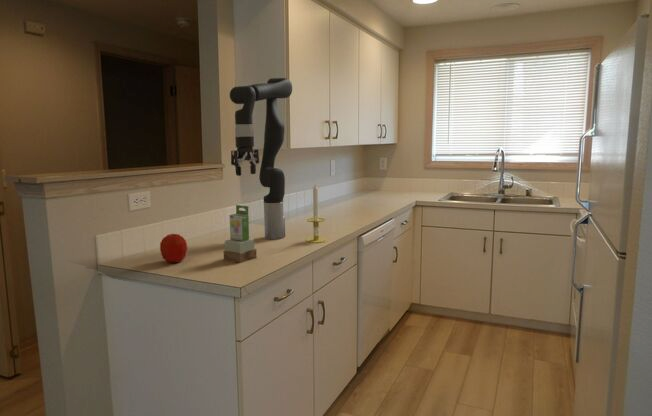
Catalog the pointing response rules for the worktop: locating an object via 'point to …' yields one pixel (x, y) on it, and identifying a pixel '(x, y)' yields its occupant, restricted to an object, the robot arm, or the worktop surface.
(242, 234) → the ink box
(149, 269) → the worktop surface
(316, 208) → the toy syringe
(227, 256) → the tower base
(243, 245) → the tower top
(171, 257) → the apple
